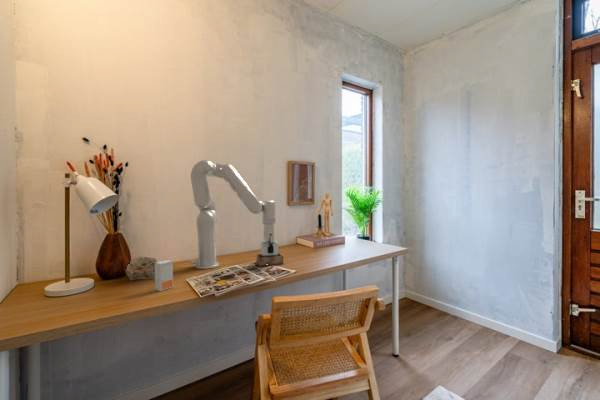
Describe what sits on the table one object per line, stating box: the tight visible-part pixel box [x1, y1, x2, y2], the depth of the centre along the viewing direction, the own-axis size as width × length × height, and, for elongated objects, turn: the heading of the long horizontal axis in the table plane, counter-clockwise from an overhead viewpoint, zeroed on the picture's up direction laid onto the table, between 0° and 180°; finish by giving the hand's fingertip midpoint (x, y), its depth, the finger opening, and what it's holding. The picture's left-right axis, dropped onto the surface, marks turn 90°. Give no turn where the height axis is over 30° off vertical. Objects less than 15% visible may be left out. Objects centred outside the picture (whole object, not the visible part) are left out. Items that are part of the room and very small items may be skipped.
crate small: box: [260, 240, 279, 256], centre depth 161 cm, size 9×6×7 cm
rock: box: [124, 256, 157, 282], centre depth 140 cm, size 21×14×10 cm
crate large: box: [256, 252, 284, 266], centre depth 161 cm, size 14×10×4 cm
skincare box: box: [154, 259, 174, 292], centre depth 120 cm, size 6×4×12 cm
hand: (269, 251), depth 161 cm, fingers closed on crate small, 6 cm apart
